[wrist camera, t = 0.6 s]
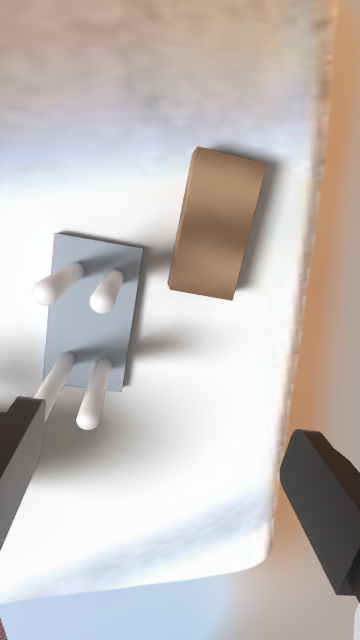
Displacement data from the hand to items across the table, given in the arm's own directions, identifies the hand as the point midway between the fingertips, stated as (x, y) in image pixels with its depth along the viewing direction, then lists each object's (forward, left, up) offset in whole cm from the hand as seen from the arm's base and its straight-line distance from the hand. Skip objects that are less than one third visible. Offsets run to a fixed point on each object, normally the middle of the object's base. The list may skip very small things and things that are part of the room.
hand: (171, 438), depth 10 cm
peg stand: (+4, -6, -23) cm, 24 cm away
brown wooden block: (-7, +4, -24) cm, 25 cm away
